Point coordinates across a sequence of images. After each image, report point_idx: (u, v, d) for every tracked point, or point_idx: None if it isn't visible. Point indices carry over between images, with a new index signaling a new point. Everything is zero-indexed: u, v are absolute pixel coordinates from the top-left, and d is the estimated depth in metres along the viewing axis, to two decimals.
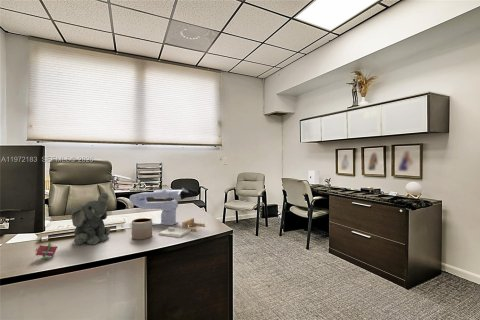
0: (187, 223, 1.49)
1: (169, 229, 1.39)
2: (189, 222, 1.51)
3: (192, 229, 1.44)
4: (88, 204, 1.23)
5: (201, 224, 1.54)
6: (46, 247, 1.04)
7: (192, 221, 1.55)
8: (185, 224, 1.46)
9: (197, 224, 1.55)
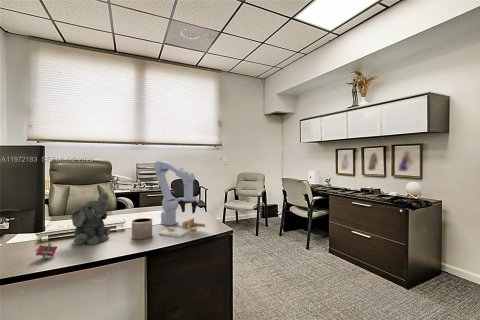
0: (187, 223, 1.49)
1: (169, 229, 1.39)
2: (189, 222, 1.51)
3: (192, 229, 1.44)
4: (88, 204, 1.23)
5: (201, 224, 1.54)
6: (46, 247, 1.04)
7: (192, 221, 1.55)
8: (185, 224, 1.46)
9: (197, 224, 1.55)
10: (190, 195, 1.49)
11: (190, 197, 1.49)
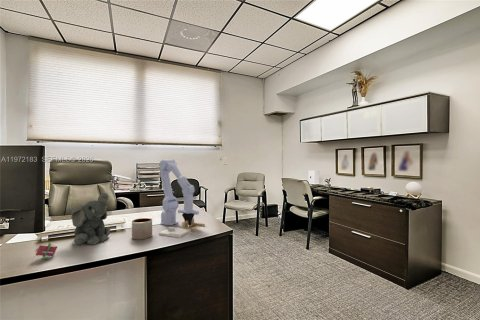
0: (187, 223, 1.49)
1: (169, 229, 1.39)
2: None
3: (192, 229, 1.44)
4: (88, 204, 1.23)
5: (201, 224, 1.54)
6: (46, 247, 1.04)
7: (192, 221, 1.55)
8: (185, 224, 1.47)
9: (197, 224, 1.55)
10: (190, 207, 1.49)
11: (190, 209, 1.49)
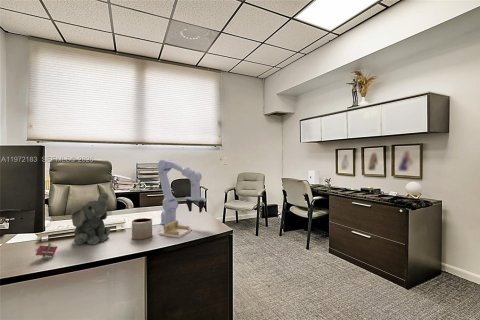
0: (170, 226, 1.38)
1: None
2: (172, 225, 1.40)
3: (174, 232, 1.33)
4: (88, 204, 1.23)
5: (185, 227, 1.43)
6: (46, 247, 1.04)
7: (175, 224, 1.44)
8: (167, 227, 1.36)
9: (181, 227, 1.44)
10: (197, 194, 1.50)
11: (197, 196, 1.50)
